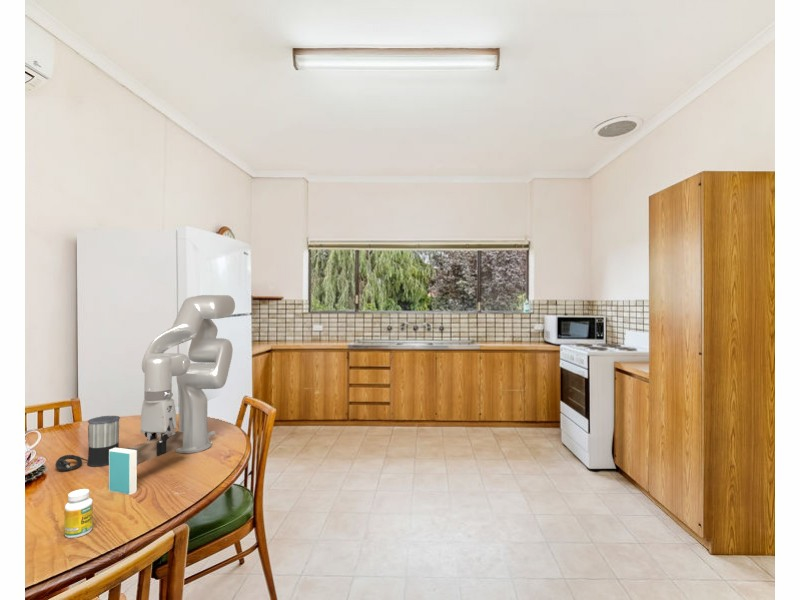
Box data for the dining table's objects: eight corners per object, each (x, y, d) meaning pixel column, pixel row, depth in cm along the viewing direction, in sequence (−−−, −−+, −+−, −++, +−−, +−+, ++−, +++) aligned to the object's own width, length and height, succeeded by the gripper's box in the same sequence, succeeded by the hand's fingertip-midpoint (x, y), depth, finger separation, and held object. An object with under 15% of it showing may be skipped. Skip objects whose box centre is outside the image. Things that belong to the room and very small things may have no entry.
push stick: (175, 446, 144) (175, 431, 144) (184, 447, 143) (184, 432, 143) (124, 465, 126) (125, 447, 126) (135, 466, 125) (136, 449, 125)
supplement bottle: (75, 527, 104) (75, 487, 104) (97, 526, 104) (98, 487, 104) (58, 539, 98) (58, 497, 98) (82, 538, 99) (82, 497, 99)
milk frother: (126, 458, 149) (126, 416, 149) (82, 476, 134) (82, 429, 134) (95, 454, 153) (95, 413, 153) (48, 471, 137) (48, 425, 138)
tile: (115, 488, 125) (115, 447, 125) (136, 491, 123) (136, 450, 123) (108, 491, 123) (108, 450, 123) (129, 495, 121) (129, 452, 121)
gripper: (187, 394, 136) (187, 452, 136) (148, 391, 141) (147, 447, 140) (169, 399, 129) (168, 460, 129) (127, 396, 133) (127, 455, 133)
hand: (157, 453), depth 135 cm, fingers closed on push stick, 2 cm apart
